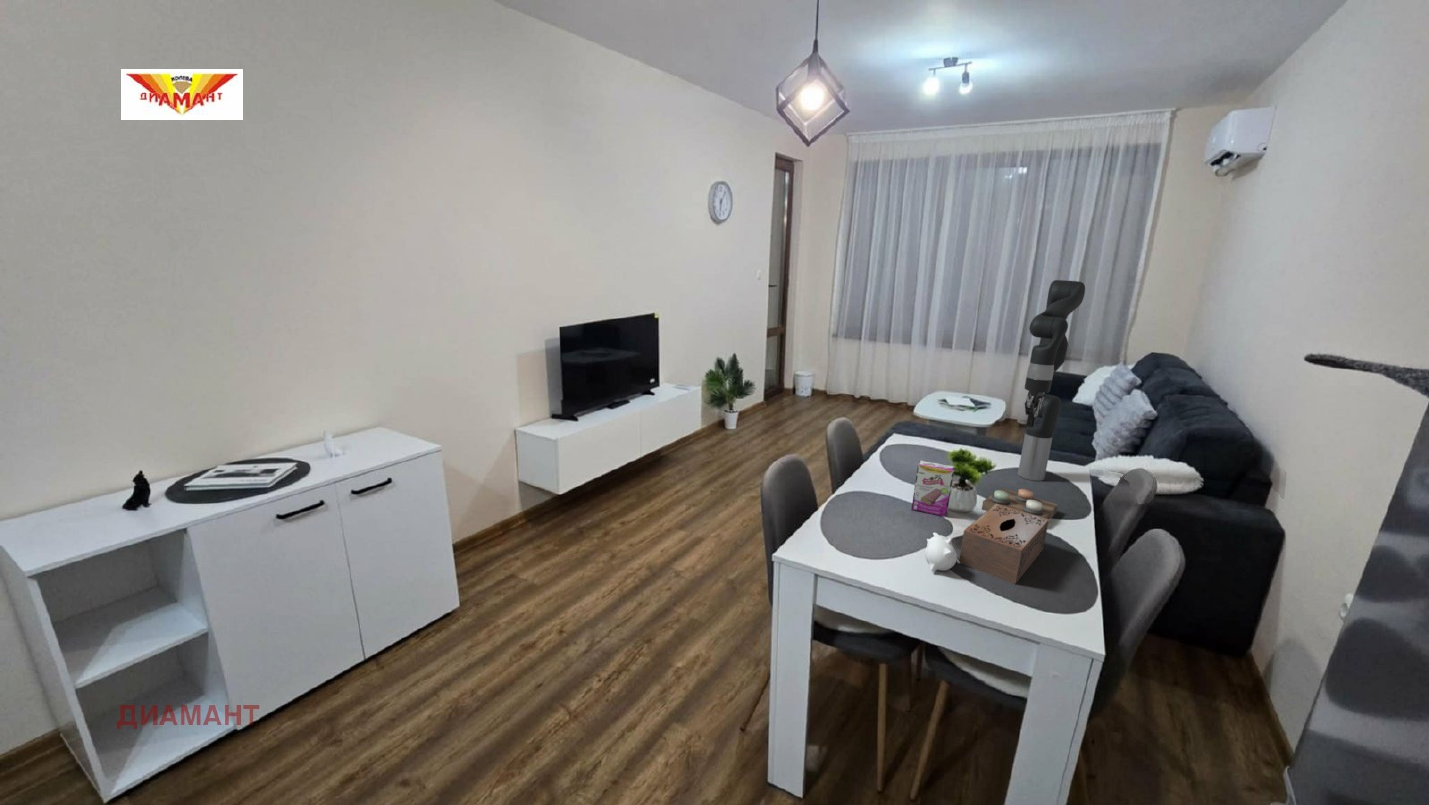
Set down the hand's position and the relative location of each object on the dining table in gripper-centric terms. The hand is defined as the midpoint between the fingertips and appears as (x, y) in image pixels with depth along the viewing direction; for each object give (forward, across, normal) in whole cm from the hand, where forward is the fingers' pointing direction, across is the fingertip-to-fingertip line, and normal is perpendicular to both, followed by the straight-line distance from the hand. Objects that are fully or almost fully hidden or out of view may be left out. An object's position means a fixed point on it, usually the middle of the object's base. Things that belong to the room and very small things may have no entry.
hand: (1030, 426), depth 191 cm
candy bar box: (+27, +34, -16) cm, 46 cm away
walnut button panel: (+27, +10, +4) cm, 29 cm away
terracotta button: (+23, +6, +4) cm, 24 cm away
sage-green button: (+23, +14, -1) cm, 27 cm away
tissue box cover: (+27, +46, +11) cm, 55 cm away
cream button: (+23, +14, +9) cm, 28 cm away
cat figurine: (+27, +64, +2) cm, 70 cm away
